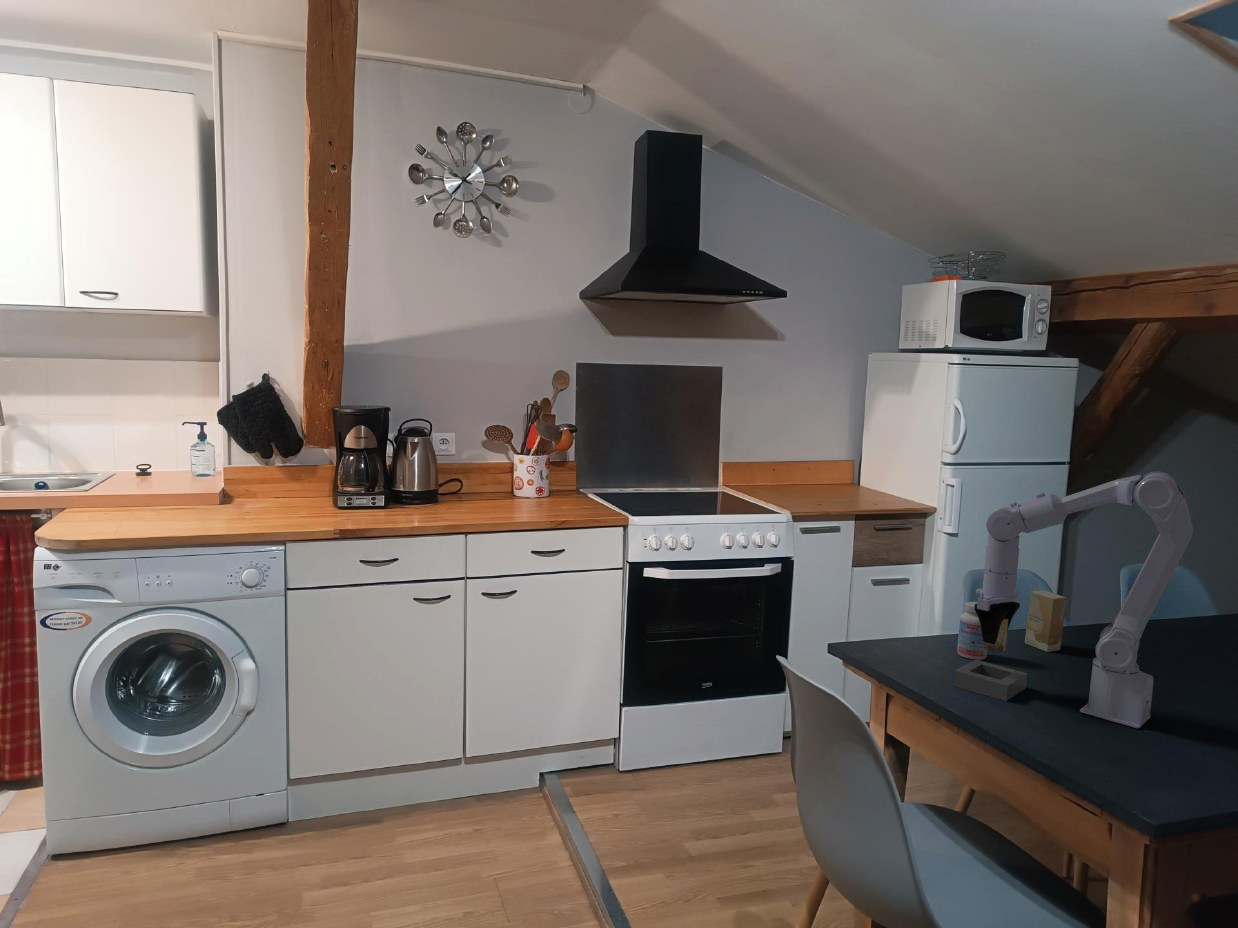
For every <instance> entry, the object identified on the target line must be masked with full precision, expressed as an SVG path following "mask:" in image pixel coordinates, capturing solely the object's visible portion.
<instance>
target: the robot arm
mask: <svg viewBox="0 0 1238 928" xmlns="http://www.w3.org/2000/svg"><path fill="white" fill-rule="evenodd" d="M1112 503H1117V504H1121V505H1126V506H1129V507H1132V506H1134V505H1133V504H1134V503H1136V504H1137V505H1138V506H1139V507H1140V509H1142V510H1143V511H1144V512H1145V513H1146V514H1147V515H1149V517H1150V518H1151V520H1152V522H1153V523H1154V525H1155V527H1156V529H1157V531H1158V535H1157V536H1156V539H1155V541H1154V543H1153V545H1152V547H1151V549H1150V551H1149V553H1148V555H1147V556H1146V559H1145V561H1144V562H1143V564H1142V567H1141V568H1140V571H1139V572H1138V574H1137V577H1135V580H1134V582H1133V584H1132V586H1131V588H1130V590H1129V592H1128V594H1127V596H1126V598H1125V600H1124V602H1123V603H1122V605H1121V607H1120V610H1119V611H1118V613H1117V614H1116V617H1114V620H1113V622H1111V623H1110V624H1109V625H1107V626H1106V627H1105V628H1103V629H1102V630H1101V632H1100V635H1099V641H1098V642H1097V644H1096V646H1095V655H1096V657H1094V658H1093V659H1092V669H1091V674H1090V675H1091V678H1090V684H1089V686H1090V687H1089V696H1088V702H1087V703H1086V704H1085V705H1084V706H1083V707H1081V708H1080V709H1079V712H1080V713H1082V714H1086V715H1090V716H1092V717H1097V718H1099V719H1103V720H1106V721H1110V722H1114V723H1118V724H1120V725H1125V726H1128V727H1131V728H1135V729H1140V728H1141V727H1142V726H1143V725H1144V724H1146V722H1147V721H1148V720H1149V719H1150V718H1151V708H1152V700H1153V699H1152V698H1153V691H1154V677H1153V675H1152V674H1148V673H1145V672H1143V671H1142V670H1140V666H1139V664H1138V663H1137V660H1138V651H1139V648H1140V640H1141V638H1142V635H1143V633H1144V630H1145V628H1146V626H1147V625H1148V622H1149V620H1150V618H1151V616H1152V615H1153V612H1154V611H1155V608H1156V607H1157V605H1158V603H1159V601H1160V599H1161V597H1162V596H1163V594H1164V591H1165V590H1166V588H1167V586H1168V584H1169V582H1170V580H1171V578H1172V576H1173V574H1174V572H1175V570H1176V568H1177V566H1178V564H1179V563H1180V560H1181V559H1182V557H1183V555H1184V553H1185V551H1186V549H1187V547H1188V546H1189V543H1190V541H1191V540H1192V538H1193V535H1194V526H1193V523H1192V520H1191V515H1190V511H1189V509H1188V503H1187V498H1186V495H1185V491H1184V490H1183V489H1182V487H1181V485H1180V484H1179V482H1178V481H1177V480H1176V479H1175V478H1174V477H1173V476H1172V475H1170V474H1169V473H1166V472H1164V471H1151V472H1148V473H1146V474H1145V475H1143V476H1142V475H1141V474H1139V475H1138V474H1137V475H1131V476H1128V477H1122V478H1117V479H1115V480H1112V481H1108V482H1106V483H1102V484H1099V485H1096V486H1093V487H1090V488H1088V489H1085V490H1081V491H1077V492H1075V493H1073V494H1069V495H1067V496H1066V495H1065V496H1063V497H1060V496H1059V495H1055V494H1053V493H1048V494H1046V495H1045V492H1040V493H1037V494H1035V498H1032V499H1029V500H1025V501H1021V502H1019V503H1017V502H1016V501H1013V502H1011V503H1009V506H1010V507H1008V506H1004V507H1000V508H998V509H996V510H995V511H994V512H992V513H990V515H989V516H988V518H987V519H986V523H985V524H986V525H985V527H986V530H987V532H988V535H987V545H986V548H985V558H984V559H985V560H984V569H983V580H982V588H976V590H975V593H976V594H978V595H979V598H977V602H978V603H977V604H975V606H974V609H975V611H976V613H977V615H978V618H979V621H980V625H981V631H982V638H983V642H986V643H990V644H995V643H996V641H997V638H998V633H999V629H1000V626H1001V623H1002V620H1003V618H1004V617H1006V618H1008V628H1007V632H1008V631H1009V629H1010V625H1011V622H1012V620H1013V618H1014V616H1015V615H1016V613H1017V611H1018V610H1019V609H1020V606H1021V603H1019V602H1017V601H1016V599H1018V594H1019V591H1018V590H1019V588H1017V577H1018V576H1017V575H1018V567H1019V557H1020V556H1019V555H1020V548H1019V546H1020V534H1021V533H1025V534H1029V533H1033V532H1037V531H1040V530H1045V529H1047V528H1050V527H1054V526H1058V525H1061V524H1063V523H1064V522H1065V520H1066V518H1067V515H1069V514H1073V513H1076V512H1080V511H1081V512H1082V511H1084V510H1085V511H1086V510H1089V509H1092V508H1097V507H1099V506H1100V507H1101V506H1104V505H1107V504H1112Z"/></svg>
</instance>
